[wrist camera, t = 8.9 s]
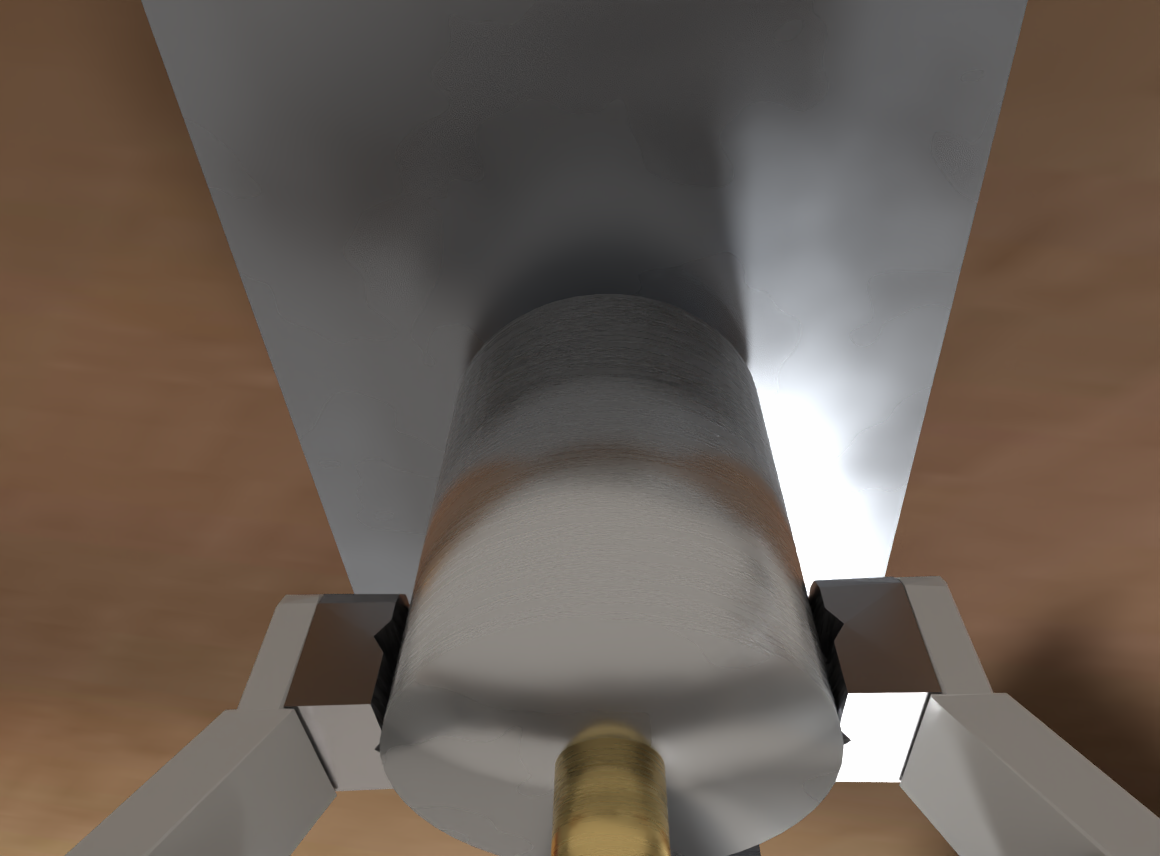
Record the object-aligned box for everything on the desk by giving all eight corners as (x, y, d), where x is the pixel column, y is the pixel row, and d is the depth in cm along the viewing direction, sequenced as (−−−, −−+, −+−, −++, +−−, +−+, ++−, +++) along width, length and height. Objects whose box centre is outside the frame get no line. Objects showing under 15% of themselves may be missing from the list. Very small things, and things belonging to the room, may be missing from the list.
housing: (770, 284, 12) (930, 774, 6) (750, 528, 15) (845, 1008, 9) (430, 302, 12) (277, 785, 7) (479, 538, 16) (404, 1008, 10)
